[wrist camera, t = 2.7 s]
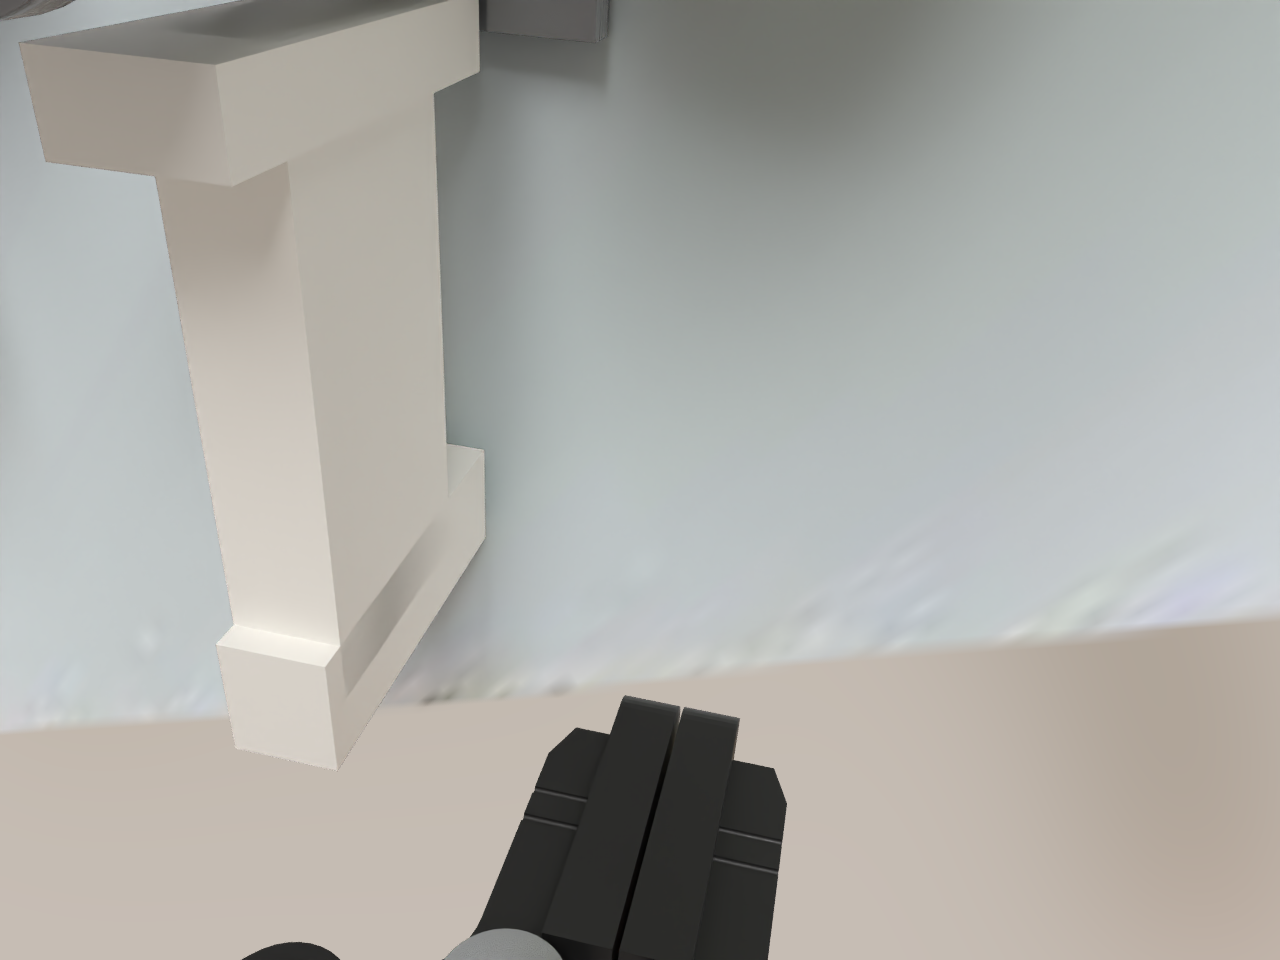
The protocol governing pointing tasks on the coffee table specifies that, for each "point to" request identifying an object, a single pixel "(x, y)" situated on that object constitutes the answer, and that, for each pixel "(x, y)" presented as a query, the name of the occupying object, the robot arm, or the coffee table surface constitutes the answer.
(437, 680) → the coffee table surface
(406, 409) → the gate
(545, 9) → the post
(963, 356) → the coffee table surface
